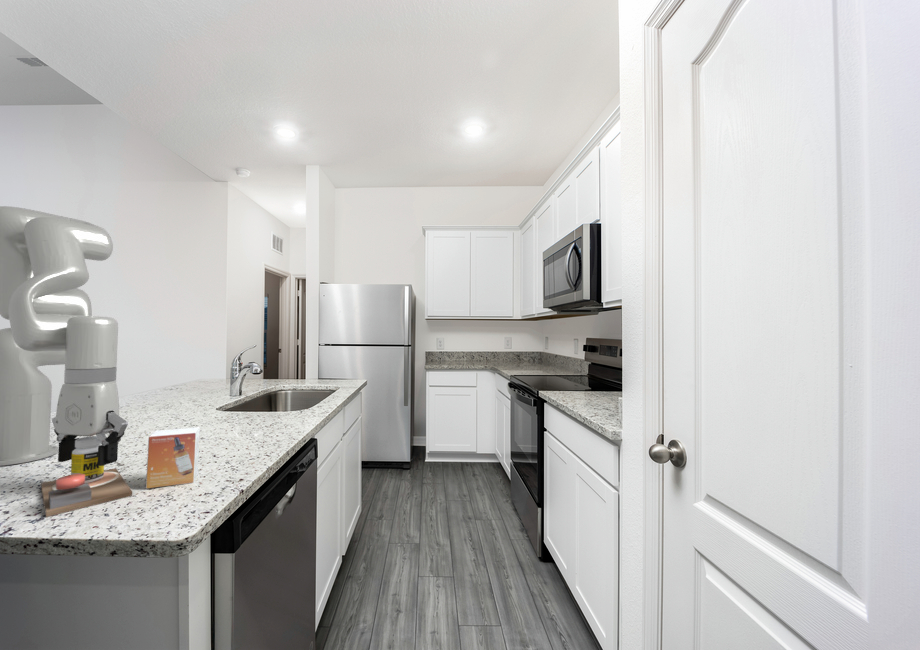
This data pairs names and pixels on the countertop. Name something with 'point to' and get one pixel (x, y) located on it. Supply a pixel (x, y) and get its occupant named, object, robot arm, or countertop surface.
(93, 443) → the supplement bottle
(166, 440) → the small box
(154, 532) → the countertop surface
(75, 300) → the robot arm
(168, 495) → the countertop surface
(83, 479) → the button
